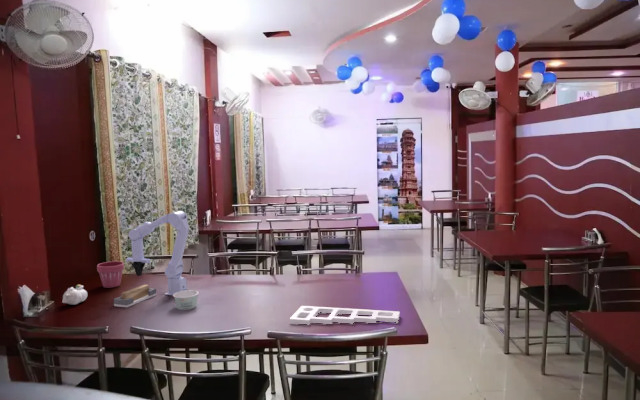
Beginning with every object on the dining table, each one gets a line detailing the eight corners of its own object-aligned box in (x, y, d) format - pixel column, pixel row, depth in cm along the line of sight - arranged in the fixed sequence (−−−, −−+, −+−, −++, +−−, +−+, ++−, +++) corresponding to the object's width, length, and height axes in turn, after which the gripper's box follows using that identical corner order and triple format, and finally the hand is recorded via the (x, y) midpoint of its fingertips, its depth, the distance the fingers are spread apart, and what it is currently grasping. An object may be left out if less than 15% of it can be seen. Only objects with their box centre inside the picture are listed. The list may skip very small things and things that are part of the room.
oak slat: (149, 294, 247) (148, 284, 247) (126, 303, 232) (126, 293, 232) (144, 293, 248) (144, 284, 248) (122, 302, 234) (121, 293, 233)
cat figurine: (83, 281, 245) (63, 285, 231) (95, 289, 244) (75, 294, 229) (74, 296, 246) (54, 302, 231) (86, 304, 245) (66, 310, 230)
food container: (176, 312, 220) (175, 298, 219) (171, 305, 230) (170, 292, 230) (202, 308, 225) (201, 294, 225) (196, 301, 236) (195, 288, 235)
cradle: (156, 295, 249) (155, 288, 248) (126, 307, 229) (126, 300, 229) (144, 294, 252) (143, 287, 251) (114, 306, 232) (113, 299, 232)
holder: (399, 317, 206) (399, 311, 206) (395, 332, 189) (395, 326, 188) (301, 311, 218) (301, 305, 218) (289, 325, 200) (289, 318, 200)
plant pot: (130, 284, 273) (128, 262, 272) (108, 290, 261) (106, 267, 260) (115, 281, 280) (113, 260, 279) (93, 287, 269) (91, 265, 267)
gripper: (121, 251, 251) (123, 276, 252) (143, 252, 246) (144, 278, 247) (131, 249, 258) (132, 273, 259) (152, 250, 252) (154, 275, 254)
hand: (139, 275), depth 253 cm, fingers closed
